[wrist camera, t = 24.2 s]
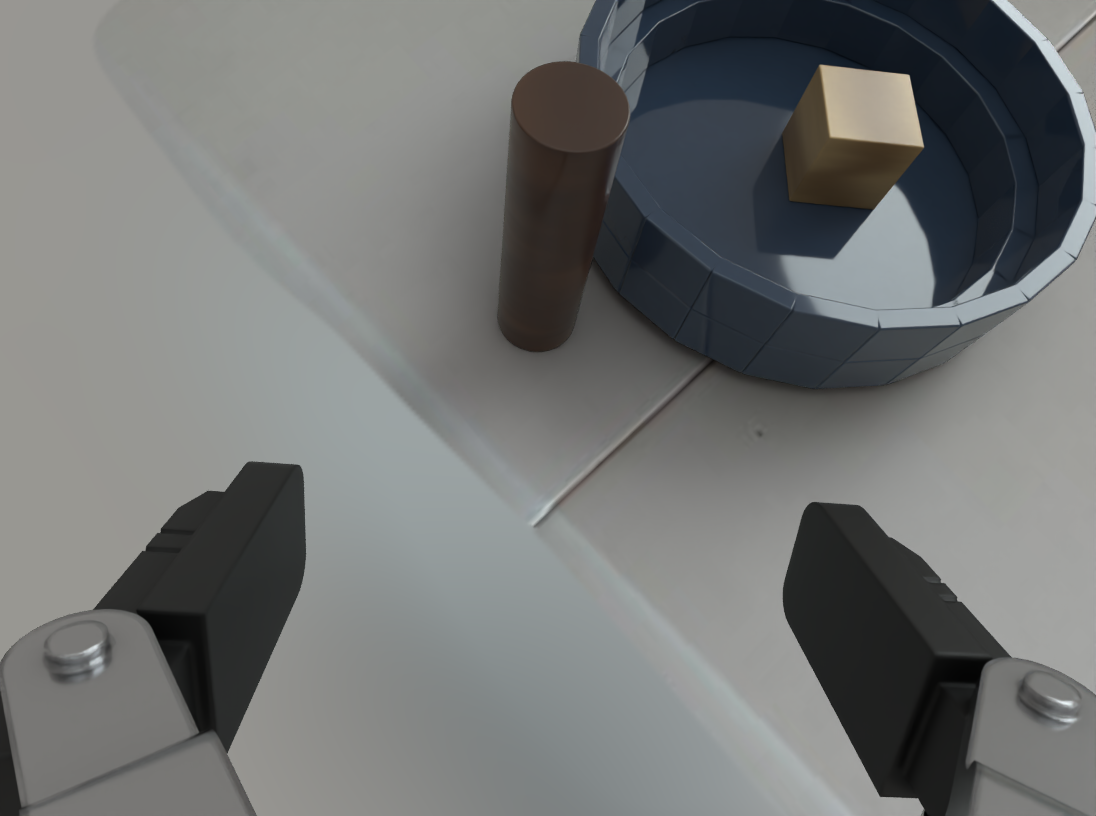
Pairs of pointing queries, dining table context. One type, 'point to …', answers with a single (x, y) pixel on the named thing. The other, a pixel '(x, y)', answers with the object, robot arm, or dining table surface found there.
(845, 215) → the bowl
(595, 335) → the dining table surface
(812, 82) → the block
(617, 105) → the brown cylinder
